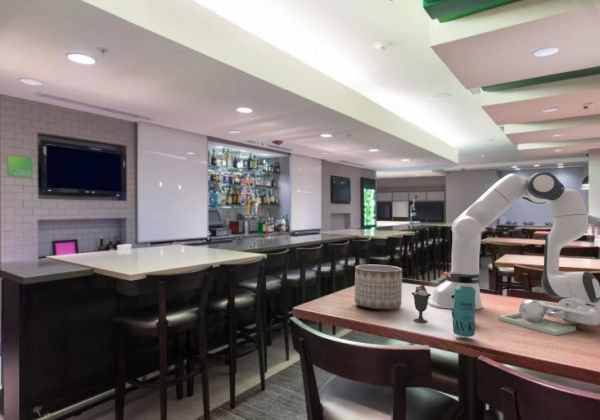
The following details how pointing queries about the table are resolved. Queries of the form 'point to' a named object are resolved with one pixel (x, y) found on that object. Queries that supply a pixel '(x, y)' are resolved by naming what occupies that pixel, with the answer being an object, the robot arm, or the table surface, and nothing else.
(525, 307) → the steel ball
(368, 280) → the planter
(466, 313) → the beverage bottle
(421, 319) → the sundae
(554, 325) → the hole plate
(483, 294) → the table surface
